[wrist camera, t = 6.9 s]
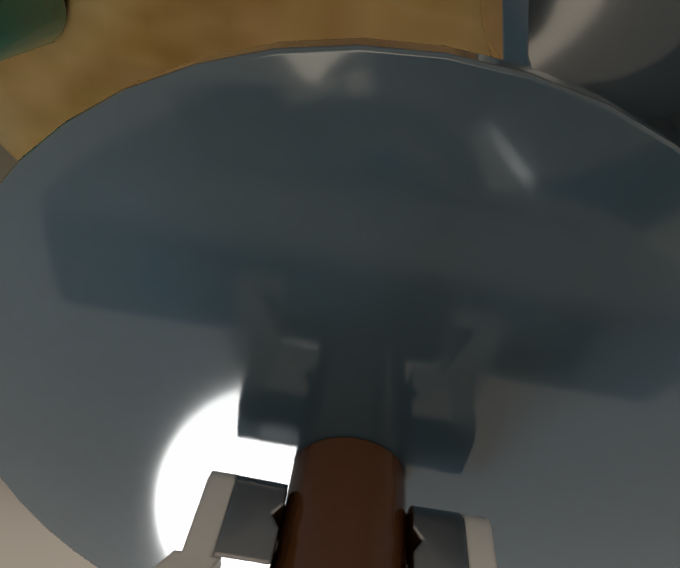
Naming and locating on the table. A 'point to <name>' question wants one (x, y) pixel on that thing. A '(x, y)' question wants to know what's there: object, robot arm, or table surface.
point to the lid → (347, 309)
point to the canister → (598, 49)
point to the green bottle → (29, 25)
